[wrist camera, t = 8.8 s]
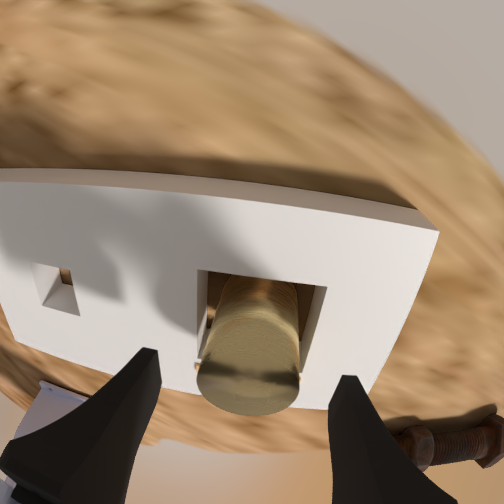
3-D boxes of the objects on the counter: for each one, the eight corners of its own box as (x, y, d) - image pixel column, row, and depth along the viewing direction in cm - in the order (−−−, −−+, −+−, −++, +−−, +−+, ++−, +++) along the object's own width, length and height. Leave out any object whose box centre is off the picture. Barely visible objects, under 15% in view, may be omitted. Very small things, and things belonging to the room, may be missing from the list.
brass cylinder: (220, 322, 18) (197, 408, 13) (223, 261, 16) (194, 345, 11) (291, 331, 18) (290, 420, 12) (303, 271, 16) (309, 359, 11)
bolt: (366, 413, 24) (489, 408, 23) (352, 458, 24) (473, 448, 23) (386, 445, 18) (520, 428, 17) (366, 494, 18) (499, 472, 17)
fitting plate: (32, 320, 20) (14, 342, 18) (-3, 168, 15) (-33, 182, 12) (353, 380, 19) (358, 413, 17) (418, 210, 14) (441, 233, 11)
